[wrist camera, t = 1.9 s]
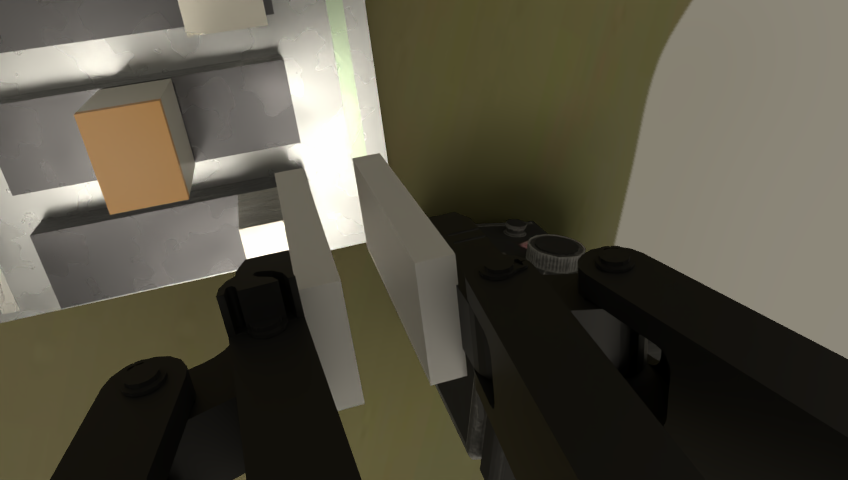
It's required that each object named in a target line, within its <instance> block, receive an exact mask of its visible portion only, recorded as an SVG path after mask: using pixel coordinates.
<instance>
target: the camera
mask: <svg viewBox="0 0 848 480" xmlns="http://www.w3.org/2000/svg"><path fill="white" fill-rule="evenodd" d="M476 225H477V226H478V228H479V229H480V230H481V231H482V232H483V233H484V234H485V236H486V237H488V238H489V239H490V241H491V242H492V243H493V244H494V245H495V246H496V247H497V248H498V249H499V250H500V252H501V253H502V254H506V255H516V256H519V257H522V258H525V259H527V260H528V261H530V262H531V263H532V264H533V265H534V266H535V267H536V269H537V270H538V271H539V272H540V274H543V275H557V274H574V273H578V259H579V258H580V257H581V255H582V254H584V253H585V250H586V248H585V247H584V246H583V244H581V243H580V242H578V241H576V240H574V239H571V238H568V237H565V236H559V235H550V234H547V233H546V232H545V231H544V230H543V229H542V228H540V227H539V226H538V225H537V224H536V223H535V222H533V221H529V222H524V221H521V220H518V219H509V220H507V221H506V223H488V224H476ZM647 353H648V354H649V355H650V356H652V357H653V358H655V359H657V360H659V361H660V358H661V349H660V348H659V347H657V346H656V345H655V344H654V343H652V342H651V341H649V340H648V352H647ZM465 356H466V366H467V376H464V377H461V378H457V379H453V380H450V381H446V382H442V383H439V384H435V386H436V388H437V390H438V392H439V394H440V396H441V398H442V401H443V403H444V405H445V407H446V409H447V411H448V413H449V415H450V417H451V419H452V422H453V424H454V426H455V428H456V430H457V432H458V434H459V436H460V438H461V440H462V443H463V445H464V447H465V449H466V451H467V453H468V455H469V457H470V458H472V459H481V466H480V471H481V473H482V475H483V477H484V480H516V479H515V477H514V475H513V472H512V470H511V468H510V466H509V463H508V461H507V459H506V457H505V454H504V452H503V450H502V448H501V445H500V443H499V441H498V438H497V436H496V434H495V432H494V429H493V427H492V425H491V423H490V420H489V418H488V416H487V414H486V411H485V410H484V419H483V420H479V418H478V409H477V398H476V388H475V377H474V367H473V365H472V364H471V362H470V360H469V358H468V357H467V355H466V353H465Z"/></svg>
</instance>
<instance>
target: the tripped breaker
mask: <svg viewBox="0 0 848 480" xmlns="http://www.w3.org/2000/svg"><path fill="white" fill-rule="evenodd" d="M74 117H75V120H76V123H77V125H78V128H79V131H80V134H81V136H82V139H83V142H84V145H85V147H86V150H87V153H88V156H89V158H90V161H91V164H92V167H93V169H94V172H95V175H96V178H97V180H98V183H99V186H100V189H101V191H102V194H103V197H104V200H105V202H106V205H107V208H108V211H109V213H110V215H112V214H117V213H122V212H127V211H132V210H137V209H143V208H148V207H153V206H158V205H163V204H168V203H173V202H178V201H183V200H189V197H190V191H191V186H192V180H193V175H194V169H195V161H194V157H193V154H192V150H191V147H190V143H189V140H188V136H187V133H186V129H185V126H184V122H183V119H182V115H181V112H180V108H179V105H178V101H177V98H176V94H175V91H174V87H173V84H172V80H171V78H170V79H164V80H157V81H151V82H145V83H138V84H132V85H126V86H119V87H113V88H107V89H101V90H98V91H97V92H96V93H95V94H94V95H93V96H92V97H91V98H90V99H89V100H88V101H87V102H86V103H85V104H84V105H83V106H82V107H81V108H80V109H79V110H78V111H77V112H76V113H75V114H74Z"/></svg>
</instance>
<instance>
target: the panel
mask: <svg viewBox="0 0 848 480" xmlns="http://www.w3.org/2000/svg"><path fill="white" fill-rule="evenodd" d="M170 78H171V80H172V84H173V87H174V91H175V94H176V98H177V101H178V105H179V108H180V112H181V115H182V119H183V122H184V126H185V129H186V133H187V136H188V140H189V143H190V147H191V150H192V154H193V157H194V161H195V169H194V175H193V180H192V186H191V191H190V197H189V200H183V201H178V202H173V203H168V204H163V205H158V206H153V207H148V208H143V209H137V210H132V211H127V212H122V213H117V214H112V215H110V213H109V211H108V208H107V205H106V202H105V200H104V197H103V194H102V191H101V189H100V186H99V183H98V180H97V178H96V175H95V172H94V169H93V167H92V164H91V161H90V158H89V156H88V153H87V150H86V147H85V145H84V142H83V139H82V136H81V134H80V131H79V128H78V125H77V123H76V120H75V117H74V114H75V113H76V112H77V111H78V110H79V109H80V108H81V107H82V106H83V105H84V104H85V103H86V102H87V101H88V100H89V99H90V98H91V97H92V96H93V95H94V94H95V93H96V92H97V91H98V90H101V89H107V88H113V87H119V86H126V85H132V84H138V83H145V82H151V81H157V80H164V79H170ZM377 153H380V154H381V156H382V157H383V158H384V160H385V161H386V162H387V164H388V160H387V153H386V146H385V139H384V132H383V125H382V118H381V111H380V104H379V97H378V90H377V83H376V76H375V69H374V63H373V56H372V49H371V42H370V35H369V28H368V21H367V14H366V7H365V0H0V323H3V322H7V321H12V320H16V319H21V318H26V317H30V316H35V315H39V314H44V313H48V312H53V311H57V310H62V309H66V308H71V307H75V306H80V305H84V304H89V303H94V302H98V301H103V300H107V299H112V298H116V297H121V296H125V295H130V294H134V293H139V292H143V291H148V290H152V289H157V288H161V287H166V286H171V285H175V284H180V283H184V282H189V281H193V280H198V279H202V278H207V277H211V276H216V275H220V274H225V273H229V272H234V271H237V269H238V268H239V267H240V265H241V264H242V263H243V262H244V260H245V259H249V258H253V257H258V256H263V255H267V254H272V253H276V252H281V251H285V250H289V248H288V243H287V237H286V232H285V227H284V222H283V216H282V211H281V206H280V201H279V195H278V190H277V185H276V180H275V174H274V173H278V172H283V171H289V170H294V169H299V168H303V169H304V172H305V175H306V178H307V181H308V184H309V187H310V190H311V193H312V196H313V199H314V202H315V205H316V208H317V211H318V214H319V217H320V220H321V223H322V226H323V229H324V232H325V235H326V238H327V241H328V244H329V247H330V250H334V249H338V248H343V247H347V246H352V245H356V244H361V243H365V242H366V237H365V231H364V225H363V219H362V213H361V207H360V202H359V196H358V190H357V184H356V178H355V172H354V166H353V160H352V158H356V157H361V156H366V155H372V154H377Z"/></svg>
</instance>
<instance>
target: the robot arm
mask: <svg viewBox="0 0 848 480" xmlns="http://www.w3.org/2000/svg"><path fill="white" fill-rule="evenodd" d="M352 160H353V166H354V172H355V178H356V184H357V190H358V196H359V202H360V207H361V213H362V219H363V225H364V231H365V237H366V243H367V248H368V251H369V253H370V255H371V257H372V259H373V261H374V264H375V266H376V268H377V270H378V272H379V274H380V277H381V279H382V281H383V283H384V285H385V287H386V290H387V292H388V294H389V296H390V298H391V300H392V303H393V305H394V307H395V309H396V311H397V313H398V316H399V318H400V320H401V322H402V324H403V326H404V329H405V331H406V333H407V335H408V337H409V339H410V342H411V344H412V346H413V348H414V350H415V352H416V354H417V357H418V359H419V361H420V363H421V365H422V367H423V370H424V372H425V374H426V376H427V378H428V380H429V383H430V385H435V384H439V383H442V382H446V381H450V380H453V379H457V378H461V377H464V376H467V366H466V356H465V353H466V355H467V357H468V358H469V360H470V362H471V364H472V365H473V367H474V377H475V388H476V398H477V409H478V418H479V420H483V419H484V410H485V411H486V414H487V416H488V418H489V420H490V423H491V425H492V427H493V429H494V432H495V434H496V436H497V438H498V441H499V443H500V445H501V448H502V450H503V452H504V454H505V457H506V459H507V461H508V463H509V466H510V468H511V470H512V472H513V475H514V477H515V479H516V480H848V359H846V358H844V357H843V356H841V355H839V354H837V353H835V352H833V351H831V350H829V349H827V348H825V347H823V346H821V345H819V344H817V343H815V342H814V341H812V340H810V339H808V338H806V337H804V336H802V335H800V334H798V333H796V332H794V331H792V330H790V329H788V328H787V327H784V326H783V325H781V324H779V323H776V322H775V321H773V320H771V319H769V318H767V317H765V316H763V315H761V314H760V313H757V312H756V311H754V310H752V309H750V308H748V307H746V306H744V305H742V304H740V303H738V302H736V301H734V300H732V299H731V298H729V297H727V296H725V295H723V294H721V293H719V292H717V291H715V290H713V289H711V288H709V287H707V286H705V285H704V284H701V283H700V282H698V281H696V280H694V279H692V278H690V277H688V276H686V275H684V274H682V273H680V272H678V271H676V270H675V269H673V268H671V267H669V266H667V265H665V264H663V263H661V262H659V261H657V260H655V259H653V258H651V257H649V256H647V255H645V254H644V253H641V252H639V251H636V250H633V249H630V248H623V247H619V246H611V247H609V246H605V247H601V248H597V249H593V250H590V251H588V252H586V253H584V254H582V255H581V257H580V258H579V259H578V273H574V274H557V275H543V274H540V272H539V271H538V270H537V269H536V267H535V266H534V265H533V264H532V263H531V262H530V261H528V260H527V259H525V258H522V257H519V256H516V255H506V254H502V253H501V252H500V250H499V249H498V248H497V247H496V246H495V245H494V244H493V243H492V242H491V241H490V239H489V238H488V237H486V236H485V234H484V233H483V232H482V231H481V230H480V229H479V228H478V226H477V225H476V224H475V223H474V222H473V221H472V220H471V219H470V218H468V217H466V216H463V215H461V214H458V213H456V212H453V213H448V214H443V215H439V216H434V217H430V218H428V217H427V216H426V214H425V213H424V212H423V210H422V209H421V208H420V206H419V205H418V204H417V202H416V201H415V200H414V198H413V197H412V196H411V194H410V193H409V192H408V190H407V189H406V188H405V186H404V185H403V184H402V182H401V181H400V180H399V178H398V177H397V176H396V174H395V173H394V172H393V170H392V169H391V168H390V166H389V165H388V164H387V162H386V161H385V160H384V158H383V157H382V156H381V154H380V153H377V154H372V155H366V156H361V157H356V158H352ZM274 174H275V180H276V185H277V190H278V195H279V201H280V206H281V211H282V216H283V222H284V227H285V232H286V237H287V243H288V248H289V250H285V251H281V252H276V253H272V254H267V255H263V256H258V257H253V258H249V259H245V260H244V262H243V263H242V264H241V265H240V267H239V268H238V269H237V271H236V276H235V277H233V278H231V279H230V280H228V281H226V282H225V283H224V284H223V285H222V286H221V287H220V288H219V289H218V293H217V296H216V297H217V301H218V304H219V307H220V311H221V314H222V317H223V321H224V324H225V327H226V331H227V334H228V337H229V344H230V345H229V346H228V347H227V348H226V349H225V350H224V351H223V352H221V353H220V354H219V355H217V356H216V357H214V358H212V359H210V360H209V361H207V362H205V363H203V364H200V365H198V366H196V367H194V368H191V369H189V370H188V368H187V366H186V365H185V364H184V362H183V361H182V360H181V359H178V358H174V357H171V356H166V357H153V358H149V359H145V360H140V361H137V362H135V363H134V364H130V365H129V366H127V367H125V368H123V369H122V370H121V371H119V372H118V373H116V374H115V375H114V376H112V377H111V378H110V379H109V380H108V381H107V382H106V384H105V385H104V386H103V387H102V388H101V390H100V392H99V394H98V396H97V397H96V399H95V401H94V403H93V404H92V406H91V408H90V410H89V411H88V413H87V415H86V417H85V419H84V420H83V422H82V424H81V426H80V427H79V429H78V431H77V433H76V435H75V436H74V438H73V440H72V442H71V443H70V445H69V447H68V449H67V450H66V452H65V454H64V456H63V458H62V459H61V461H60V463H59V465H58V466H57V468H56V470H55V472H54V474H53V475H52V477H51V479H50V480H233V479H235V478H237V477H239V476H241V475H242V474H244V473H246V480H361V477H360V474H359V471H358V468H357V466H356V463H355V460H354V457H353V454H352V451H351V448H350V445H349V443H348V440H347V437H346V434H345V431H344V428H343V425H342V422H341V420H340V417H339V414H338V411H340V410H343V409H347V408H351V407H354V406H358V405H362V404H365V403H364V398H363V393H362V387H361V382H360V377H359V372H358V367H357V362H356V357H355V352H354V347H353V341H352V336H351V331H350V326H349V321H348V316H347V311H346V306H345V301H344V295H343V290H342V285H341V280H340V277H339V274H338V271H337V268H336V265H335V262H334V259H333V256H332V253H331V250H330V247H329V244H328V241H327V238H326V235H325V232H324V229H323V226H322V223H321V220H320V217H319V214H318V211H317V208H316V205H315V202H314V199H313V196H312V193H311V190H310V187H309V184H308V181H307V178H306V175H305V172H304V169H303V168H299V169H294V170H289V171H283V172H278V173H274ZM648 340H649V341H651V342H652V343H654V344H655V345H656V346H657V347H659V348H660V349H661V358H660V361H659V360H657V359H655V358H653V357H652V356H650V355H649V354H648V353H647V352H648Z"/></svg>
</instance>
